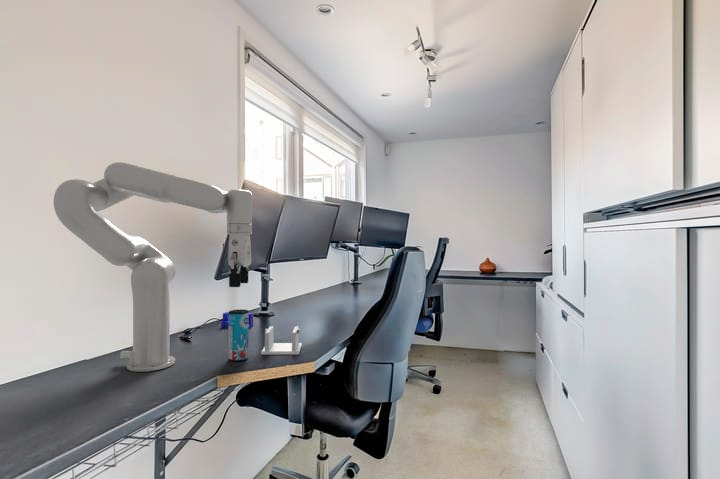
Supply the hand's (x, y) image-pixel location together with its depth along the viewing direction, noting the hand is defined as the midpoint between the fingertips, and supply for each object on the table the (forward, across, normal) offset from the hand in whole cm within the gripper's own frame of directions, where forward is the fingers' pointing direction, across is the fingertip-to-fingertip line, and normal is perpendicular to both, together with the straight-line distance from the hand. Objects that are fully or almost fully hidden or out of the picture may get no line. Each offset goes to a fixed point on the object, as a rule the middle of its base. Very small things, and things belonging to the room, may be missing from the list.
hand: (239, 284), depth 121 cm
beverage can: (+23, 0, 0) cm, 23 cm away
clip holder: (+23, +10, -12) cm, 28 cm away
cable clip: (+24, +44, +12) cm, 51 cm away
